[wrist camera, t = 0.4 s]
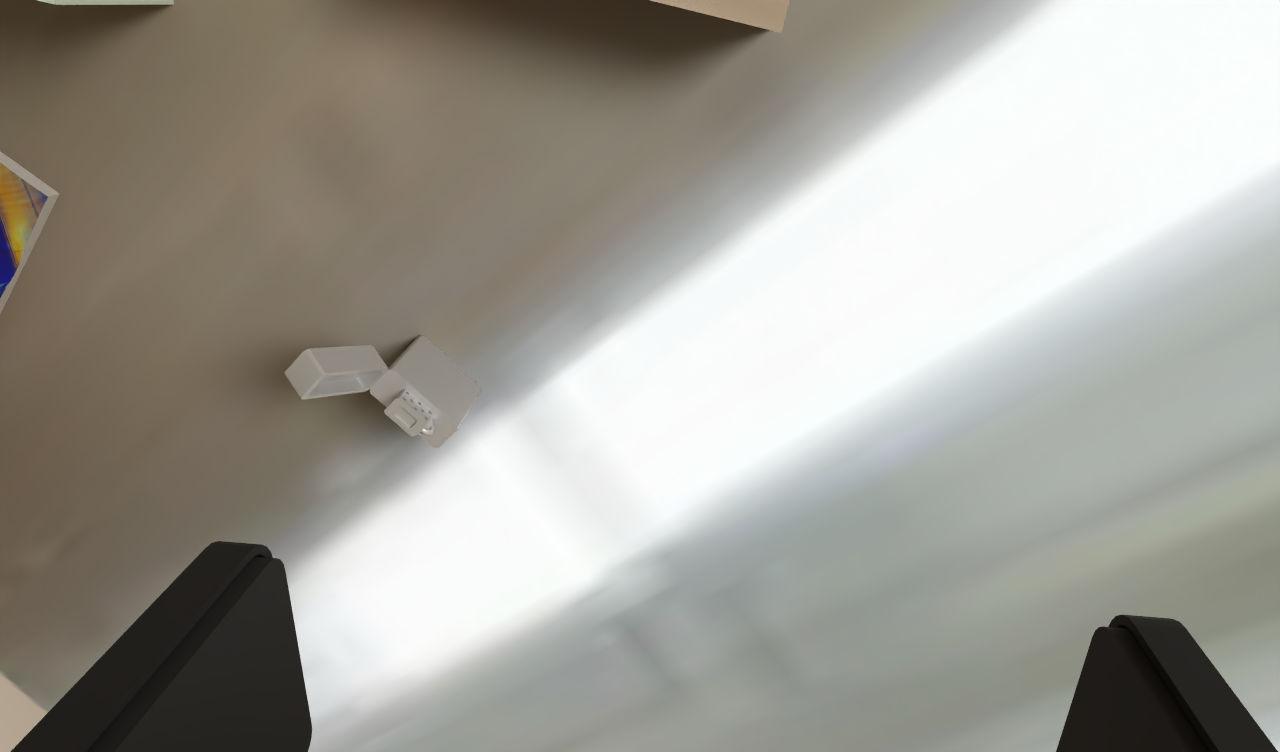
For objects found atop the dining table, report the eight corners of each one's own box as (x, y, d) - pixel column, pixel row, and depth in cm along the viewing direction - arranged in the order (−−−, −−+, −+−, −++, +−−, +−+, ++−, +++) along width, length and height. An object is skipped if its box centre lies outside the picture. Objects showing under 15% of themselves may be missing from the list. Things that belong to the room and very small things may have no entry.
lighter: (483, 388, 42) (434, 468, 35) (462, 409, 43) (409, 491, 36) (374, 291, 41) (299, 354, 34) (353, 314, 41) (275, 380, 34)
